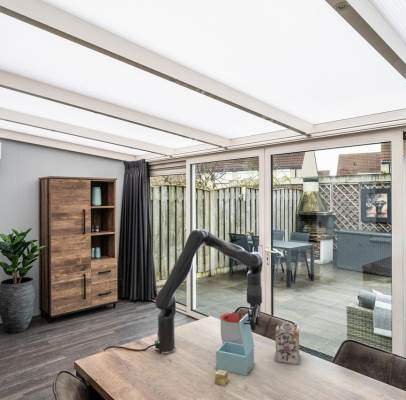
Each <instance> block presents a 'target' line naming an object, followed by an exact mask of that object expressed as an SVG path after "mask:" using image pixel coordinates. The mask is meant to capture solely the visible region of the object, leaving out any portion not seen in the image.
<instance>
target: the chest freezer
mask: <svg viewBox="0 0 406 400" xmlns="http://www.w3.org/2000/svg"><path fill="white" fill-rule="evenodd" d="M254 351H255V346H254V347H253V348H252V350H251V351H250V352H249V354H248V355H247V356H245V352H244V347H243V345H240V344H235V343H230V342H224V343H222V344H221V345H220V346H219V347H218V348H217V349H216V350H215V368H216V369H217V370H218V369H220V370H224V371H228V373H234V374H238V375H243V376H248V374H249V372H250V371H251V369H252V368H253V366H254V365H255V354H254V353H255V352H254Z"/></svg>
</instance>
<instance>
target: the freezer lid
mask: <svg viewBox="0 0 406 400" xmlns="http://www.w3.org/2000/svg"><path fill="white" fill-rule="evenodd" d="M244 315H245V316H244V317H243V318H242V319H241V320H240V321H239V324H240V329H241V335H242V341H243V347H244V352H245V356H247V355H248V354H249V352H250V351H251V350H252V348H253V347H254V348H255V341H254V337H253V336H254V335H253V330H251V325H250V322H249V319H248V313H246V314H244ZM255 322H256V319H255Z"/></svg>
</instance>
